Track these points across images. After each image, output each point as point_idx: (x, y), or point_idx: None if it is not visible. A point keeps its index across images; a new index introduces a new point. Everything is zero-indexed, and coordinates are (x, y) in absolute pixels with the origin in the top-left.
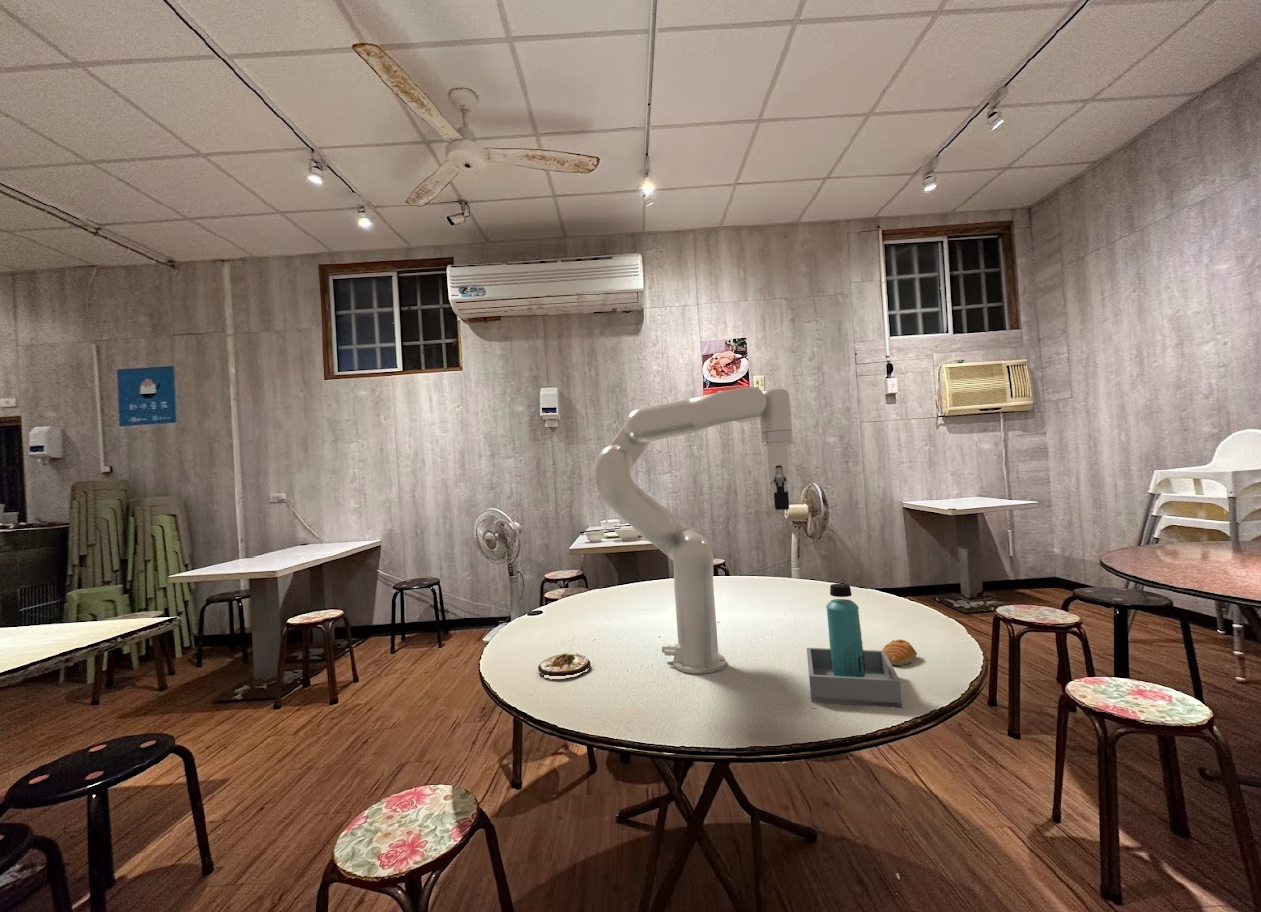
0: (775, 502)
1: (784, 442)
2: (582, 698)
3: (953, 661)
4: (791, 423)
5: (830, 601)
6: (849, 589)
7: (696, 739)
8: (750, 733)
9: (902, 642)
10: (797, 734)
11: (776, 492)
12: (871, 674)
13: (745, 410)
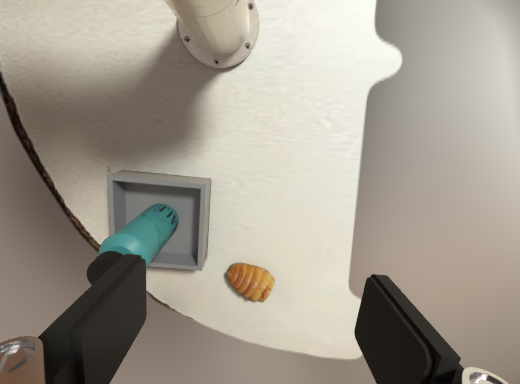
0: (101, 280)
1: None
2: None
3: (247, 324)
4: None
5: (122, 244)
6: None
7: (7, 38)
8: (37, 99)
9: (261, 296)
10: (49, 147)
11: (6, 354)
12: (189, 242)
13: None
